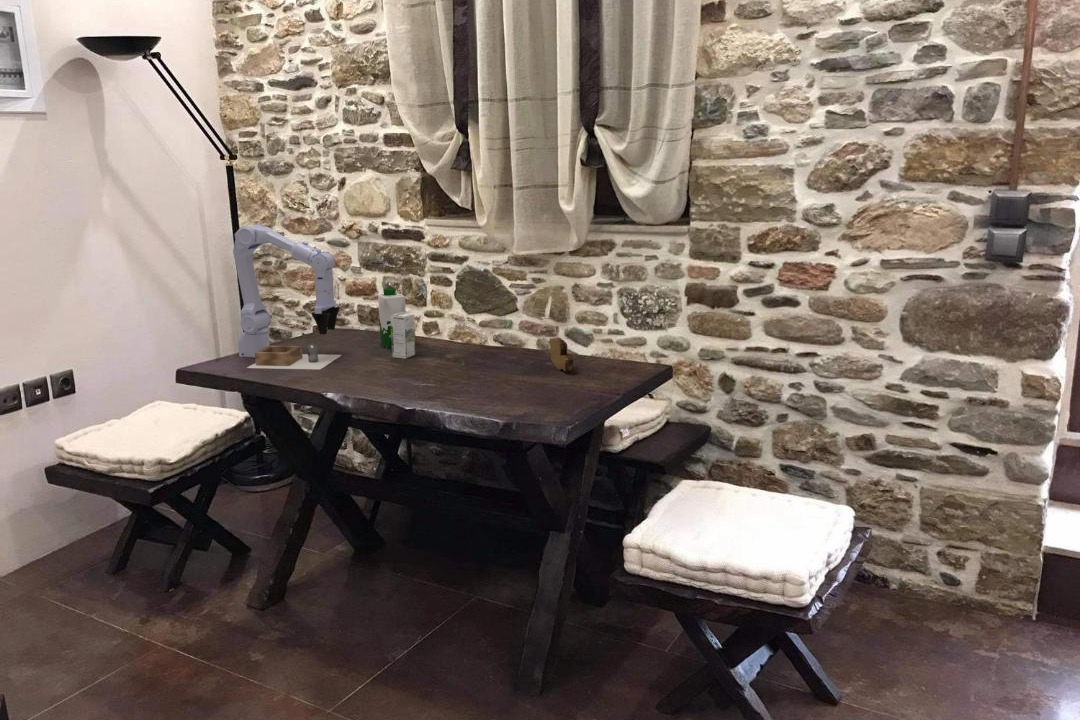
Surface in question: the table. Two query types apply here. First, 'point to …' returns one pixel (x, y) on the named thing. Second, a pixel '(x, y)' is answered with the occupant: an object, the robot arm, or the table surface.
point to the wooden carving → (560, 354)
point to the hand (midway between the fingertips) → (327, 331)
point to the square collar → (278, 355)
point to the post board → (306, 361)
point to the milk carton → (389, 313)
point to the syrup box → (403, 335)
